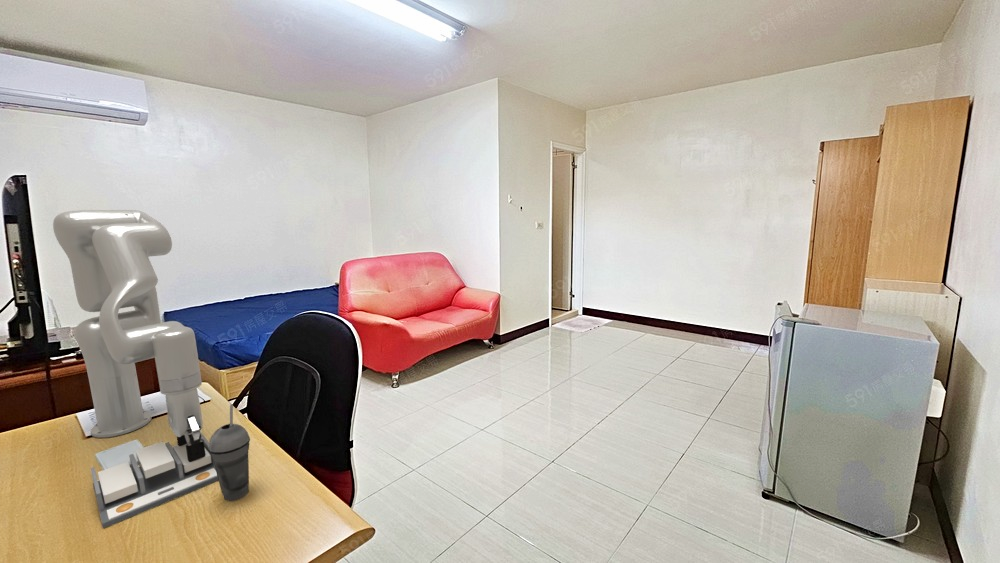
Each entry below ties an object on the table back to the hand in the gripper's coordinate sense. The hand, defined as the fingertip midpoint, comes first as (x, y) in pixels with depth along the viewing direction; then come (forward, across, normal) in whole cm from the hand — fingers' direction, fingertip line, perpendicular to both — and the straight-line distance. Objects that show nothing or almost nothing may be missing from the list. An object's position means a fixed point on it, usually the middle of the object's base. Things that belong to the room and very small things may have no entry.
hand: (191, 450), depth 97 cm
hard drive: (+4, -17, -10) cm, 20 cm away
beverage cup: (+4, +19, +3) cm, 19 cm away
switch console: (+4, +2, -7) cm, 8 cm away
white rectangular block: (+1, 0, -7) cm, 7 cm away
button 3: (+3, 0, 0) cm, 3 cm away
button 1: (+3, 0, -13) cm, 13 cm away
